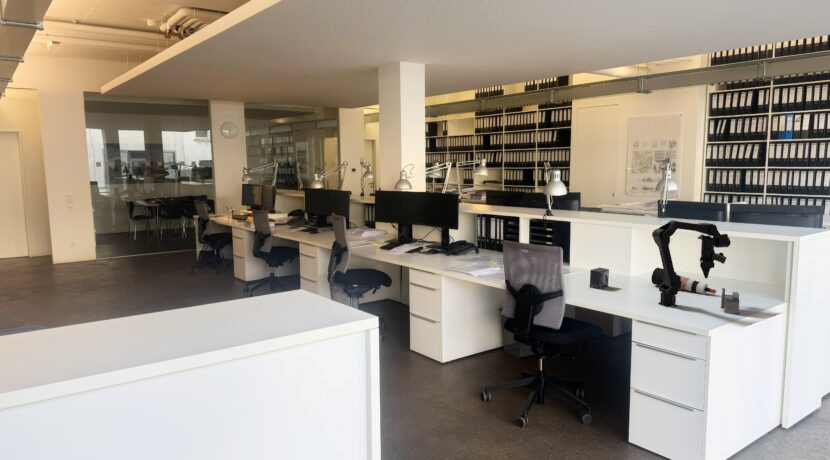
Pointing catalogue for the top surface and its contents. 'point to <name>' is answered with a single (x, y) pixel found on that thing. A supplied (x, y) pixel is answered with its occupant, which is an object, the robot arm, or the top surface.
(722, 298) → the plug
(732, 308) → the housing
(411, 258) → the top surface
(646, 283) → the top surface
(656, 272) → the striped tapered cylinder
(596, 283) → the small box
